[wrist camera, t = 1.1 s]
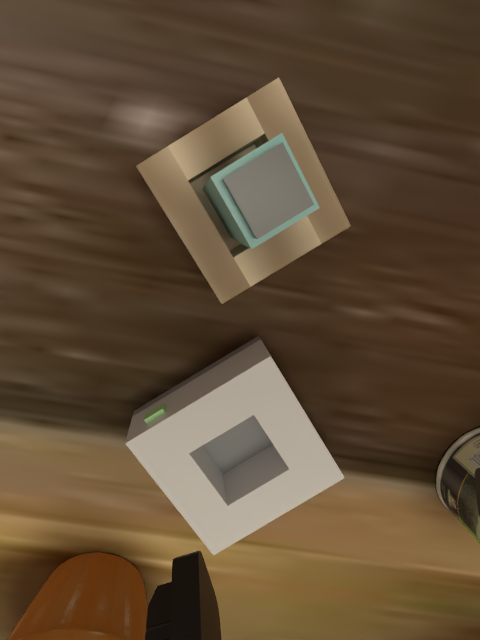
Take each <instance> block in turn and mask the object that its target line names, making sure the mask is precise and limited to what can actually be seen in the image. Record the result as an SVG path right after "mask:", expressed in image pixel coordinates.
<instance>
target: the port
mask: <svg viewBox="0 0 480 640" xmlns="http://www.w3.org/2000/svg"><path fill="white" fill-rule="evenodd" d="M125 444H126V445H127V446H128V448H129V449H130V450H131V451H132V453H133V454H134V455H135V456H136V458H137V459H138V460H139V462H140V463H141V464H142V465H143V467H144V468H145V469H146V470H147V472H148V473H149V474H150V475H151V477H152V478H153V479H154V481H155V482H156V483H157V484H158V486H159V487H160V488H161V489H162V491H163V492H164V493H165V495H166V496H167V497H168V498H169V500H170V501H171V502H172V503H173V505H174V506H175V507H176V508H177V510H178V511H179V512H180V514H181V515H182V516H183V517H184V519H185V520H186V521H187V522H188V524H189V525H190V526H191V527H192V529H193V530H194V531H195V533H196V534H197V535H198V536H199V538H200V539H201V540H202V541H203V543H204V544H205V545H206V546H207V548H208V549H209V550H210V552H211V553H212V554H213V555H215V554H217V553H218V552H220V551H222V550H223V549H225V548H227V547H229V546H230V545H232V544H234V543H235V542H237V541H239V540H240V539H242V538H244V537H245V536H247V535H249V534H251V533H252V532H254V531H256V530H257V529H259V528H261V527H262V526H264V525H266V524H267V523H269V522H271V521H273V520H274V519H276V518H278V517H279V516H281V515H283V514H284V513H286V512H288V511H289V510H291V509H293V508H295V507H296V506H298V505H300V504H301V503H303V502H305V501H306V500H308V499H310V498H312V497H313V496H315V495H317V494H318V493H320V492H322V491H323V490H325V489H327V488H328V487H330V486H332V485H334V484H335V483H337V482H339V481H340V480H342V479H344V476H343V474H342V473H341V471H340V469H339V468H338V466H337V464H336V463H335V461H334V459H333V458H332V456H331V454H330V453H329V451H328V449H327V448H326V446H325V444H324V443H323V441H322V439H321V438H320V436H319V434H318V433H317V431H316V430H315V428H314V426H313V425H312V423H311V421H310V420H309V418H308V416H307V415H306V413H305V411H304V410H303V408H302V406H301V405H300V403H299V401H298V400H297V398H296V397H295V395H294V393H293V392H292V390H291V388H290V387H289V385H288V383H287V382H286V380H285V378H284V377H283V375H282V373H281V372H280V370H279V368H278V367H277V365H276V363H275V362H274V360H273V359H272V357H271V355H270V354H269V352H268V350H267V349H266V347H265V345H264V344H263V342H262V340H261V339H260V337H259V336H257V337H256V338H254V339H252V340H251V341H249V342H247V343H246V344H244V345H242V346H241V347H239V348H237V349H236V350H234V351H232V352H231V353H229V354H227V355H226V356H224V357H222V358H221V359H219V360H217V361H216V362H214V363H212V364H211V365H209V366H207V367H206V368H204V369H202V370H201V371H199V372H197V373H196V374H194V375H193V376H191V377H189V378H188V379H186V380H184V381H183V382H181V383H179V384H178V385H176V386H174V387H173V388H171V389H169V390H168V391H166V392H164V393H163V394H161V395H159V396H158V397H156V398H154V399H153V400H151V401H149V402H148V403H146V404H144V405H143V406H141V407H139V408H138V409H136V410H134V412H133V416H132V420H131V424H130V427H129V431H128V435H127V439H126V442H125Z"/></svg>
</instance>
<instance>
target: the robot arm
mask: <svg viewBox="0 0 480 640" xmlns="http://www.w3.org/2000/svg"><path fill="white" fill-rule="evenodd" d="M475 484H476V495H477V505H478V513H479V517H480V468H477V469H476V470H475ZM145 640H221V629H220V618H219V610H218V605H217V600H216V596H215V592H214V589H213V586H212V583H211V580H210V577H209V574H208V571H207V568H206V565H205V562H204V559H203V556H202V553H201V551H197V552H193V553H190V554H187V555H183V556H180V557H177V558H174V559H173V564H172V582H170V583H166V584H163V585H160V586H157V588H156V590H155V593H154V595H153V597H152V599H151V601H150V603H149V606H148V611H147V621H146V632H145Z"/></svg>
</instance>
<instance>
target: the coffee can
mask: <svg viewBox="0 0 480 640" xmlns="http://www.w3.org/2000/svg"><path fill="white" fill-rule="evenodd" d="M477 468H480V427H479V428H477V429H474V430H472V431H470V432H468V433H466V434H465V435H463V436H462V437H460V438H459V439H458V440H457V441H456V442H454V443H453V444H452V446H451V447H450V448H449V449H448V450H447V451H446V453H445V455H444V457H443V458H442V460H441V462H440V464H439V467H438V470H437V475H436V489H437V493H438V496H439V498H440V500H441V501H442V503H443V504H444V506H445V507H447V508H448V509H449V510H450V511H451V512H452V513H453V514H454V515H455V516H456V517H457V519H458V520H459V521H460V522H461V523H462V524H463V525H464V526H465V527H466V529H467V530H468V531H469V532H470V533H471V534H472V535H473V536H474V537H475V539H476V540H477V541H478V542H479V543H480V517H479V513H478V505H477V495H476V484H475V470H476V469H477Z"/></svg>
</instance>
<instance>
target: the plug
mask: <svg viewBox="0 0 480 640" xmlns="http://www.w3.org/2000/svg"><path fill="white" fill-rule="evenodd" d="M203 191H204V192H205V194H206V196H207V198H208V199H209V201H210V203H211V204H212V206H213V208H214V210H215V211H216V213H217V215H218V216H219V218H220V220H221V222H222V223H223V225H224V227H225V228H226V230H227V232H228V234H229V235H230V237H231V238H232V239H234V240H236V241H237V242H239V243H241V244H243V245H245V246H247V247H248V248H250V249H253V248H255V247H256V246H258V245H260V244H261V243H263V242H265V241H266V240H268V239H270V238H271V237H273V236H274V235H276V234H278V233H279V232H281V231H283V230H284V229H286V228H288V227H289V226H291V225H293V224H294V223H296V222H297V221H299V220H301V219H302V218H304V217H306V216H307V215H309V214H311V213H312V212H314V211H316V210H317V209H319V208H320V207H319V205H318V203H317V201H316V199H315V197H314V195H313V193H312V191H311V189H310V187H309V185H308V183H307V181H306V179H305V177H304V175H303V173H302V171H301V169H300V167H299V165H298V163H297V161H296V159H295V157H294V155H293V153H292V151H291V149H290V147H289V145H288V143H287V141H286V139H285V137H284V135H283V133H281V134H279V135H277V136H276V137H274V138H273V139H271V140H269V141H268V142H266V143H264V144H263V145H261V146H260V147H258V148H256V149H255V150H253V151H251V152H250V153H248V154H247V155H245V156H243V157H242V158H240V159H238V160H237V161H235V162H234V163H232V164H230V165H229V166H227V167H225V168H224V169H222V170H221V171H219V172H217V173H216V174H214V175H212V176H211V177H210V178H209V180H208V181H207V183H206V184H205V186H204V187H203Z"/></svg>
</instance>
